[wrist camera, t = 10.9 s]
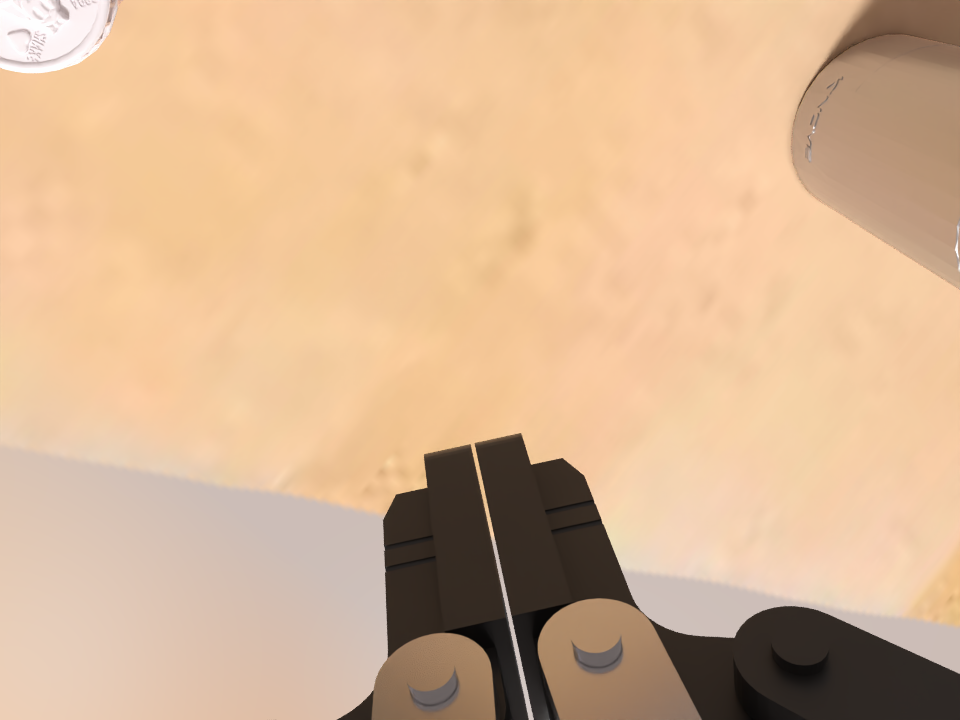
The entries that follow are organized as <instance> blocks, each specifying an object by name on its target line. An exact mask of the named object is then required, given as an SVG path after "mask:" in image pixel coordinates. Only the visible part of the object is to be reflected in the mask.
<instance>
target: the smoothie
mask: <svg viewBox="0 0 960 720" xmlns="http://www.w3.org/2000/svg"><path fill="white" fill-rule="evenodd" d="M122 1H123V0H0V68H3V69H6V70H11V71H15V72H22V73H44V72H50V71H55V70H60V69H63V68H66V67H69V66H72V65H75V64H78V63H80V62H81V61H83V60H84V59H85V58H87V57H88V56H89V55H91V54H92V53H94V52H95V51H96V50H97V49H98V48H99V46H100V45H101V44H102V42H103V41H104V40H105V38H106V37H107V36H108V34H109V33H110V31H111V28H112V25H113V22H114V19H115V16H116V13H117V10H118V6H119V5H120V4H121V2H122Z"/></svg>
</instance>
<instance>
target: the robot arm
mask: <svg viewBox="0 0 960 720" xmlns="http://www.w3.org/2000/svg"><path fill="white" fill-rule="evenodd" d="M791 150H792V157H793V164H794V167H795V169H796V172H797V175H798V177H799V180H800V181H801V182H802V184H803V185H804V186H805V188H806V189H807V191H808V192H809V193H810V194H812V195H813V196H814V197H815V198H817V199H818V200H819V201H820V202H822V203H824V204H825V205H827V206H828V207H830V208H831V209H833V210H835V211H836V212H838V213H839V214H841V215H842V216H844V217H846V218H847V219H849V220H850V221H852V222H853V223H855V224H856V225H858V226H859V227H861V228H862V229H864V230H866V231H867V232H869V233H870V234H872V235H874V236H875V237H877V238H878V239H880V240H881V241H883V242H885V243H886V244H888V245H889V246H891V247H893V248H894V249H896V250H897V251H899V252H901V253H902V254H904V255H905V256H907V257H908V258H910V259H912V260H913V261H915V262H916V263H918V264H920V265H921V266H923V267H924V268H926V269H928V270H929V271H931V272H932V273H934V274H936V275H937V276H939V277H940V278H942V279H943V280H945V281H947V282H948V283H950V284H951V285H953V286H955V287H956V288H958V289H959V290H960V46H956V45H951V44H947V43H942V42H938V41H933V40H928V39H924V38H919V37H915V36H910V35H906V34H887V35H883V36H878V37H874V38H870V39H867V40H865V41H863V42H861V43H859V44H856V45H854V46H852V47H850V48H849V49H847V50H846V51H844V52H843V53H842V54H840V55H839V56H837V57H836V58H835V59H833V60H832V61H831V62H830V63H829V64H828V65H827V66H826V67H825V68H824V69H823V70H822V71H821V72H820V73H819V74H818V76H817V77H816V79H815V80H814V81H813V83H812V84H811V86H810V87H809V89H808V90H807V91H806V93H805V96H804V98H803V100H802V102H801V104H800V106H799V108H798V110H797V114H796V118H795V121H794V125H793V129H792V142H791ZM475 447H476V452H477V456H478V461H479V466H480V470H481V475H482V480H483V485H484V489H485V494H486V499H487V503H488V508H489V513H490V517H491V522H492V527H493V531H494V536H495V541H496V545H497V550H498V554H499V559H500V564H501V568H502V573H503V578H504V583H505V587H506V592H507V596H508V601H509V606H510V611H511V615H512V620H513V625H514V629H515V634H516V639H517V643H518V647H519V652H520V657H521V662H522V667H523V671H524V676H525V680H526V685H527V690H528V694H529V699H530V704H531V708H532V712H533V717H534V720H960V674H958V673H956V672H954V671H952V670H950V669H947V668H945V667H943V666H941V665H939V664H936V663H934V662H932V661H930V660H928V659H925V658H923V657H921V656H919V655H916V654H914V653H912V652H910V651H908V650H905V649H903V648H901V647H899V646H897V645H894V644H892V643H890V642H888V641H886V640H883V639H881V638H879V637H877V636H874V635H872V634H870V633H868V632H866V631H864V630H861V629H859V628H857V627H855V626H853V625H850V624H848V623H846V622H844V621H842V620H839V619H837V618H835V617H833V616H830V615H828V614H825V613H823V612H820V611H818V610H814V609H809V608H804V607H796V606H784V607H776V608H771V609H767V610H765V611H762V612H760V613H757V614H755V615H754V616H752V617H751V618H749V619H748V620H747V621H746V622H745V623H744V624H743V625H742V626H741V627H740V629H739V630H738V632H737V633H736V636H735V638H723V637H705V636H693V635H686V634H682V633H678V632H674V631H672V630H669V629H666V628H664V627H662V626H660V625H658V624H656V623H655V622H654V621H652V620H651V619H649V618H648V617H647V616H646V615H645V614H644V613H643V612H642V611H640V609H639V608H638V606H637V605H636V604H635V602H634V600H633V598H632V596H631V593H630V591H629V588H628V586H627V583H626V581H625V578H624V575H623V573H622V570H621V568H620V565H619V563H618V560H617V558H616V555H615V553H614V550H613V548H612V545H611V542H610V540H609V537H608V535H607V532H606V530H605V527H604V525H603V524H602V521H601V517H600V515H599V512H598V510H597V507H596V505H595V504H594V499H593V497H592V494H591V492H590V489H589V487H588V484H587V482H586V479H585V477H584V475H583V474H581V473H580V472H579V471H578V470H576V469H575V468H574V467H573V466H571V465H570V464H569V463H568V462H567V461H565V460H564V459H563V458H561V459H556V460H551V461H547V462H542V463H538V464H533V465H531V464H530V460H529V457H528V454H527V451H526V447H525V444H524V441H523V438H522V435H521V433H519V434H515V435H510V436H505V437H501V438H496V439H492V440H487V441H482V442H478V443H475ZM424 461H425V470H426V478H427V487H428V488H424V489H420V490H415V491H411V492H406V493H401V494H397V495H396V496H395V498H394V500H393V502H392V504H391V506H390V508H389V510H388V512H387V514H386V516H385V518H384V520H383V527H384V547H385V551H384V552H385V553H384V554H385V569H386V572H385V581H386V609H387V635H388V659H387V661H386V662H385V663H384V664H383V666H382V667H381V669H380V671H379V673H378V675H377V678H376V681H375V686H374V690H373V691H372V693H371V694H370V695H369V696H368V697H367V699H365V700H364V701H363V702H362V703H361V704H360V705H359V706H357V707H356V708H355V709H354V710H352V711H351V712H349V713H348V714H346V715H344V716H343V717H341V718H339V719H337V720H529V718H528V713H527V709H526V704H525V699H524V694H523V689H522V685H521V680H520V675H519V670H518V665H517V660H516V656H515V651H514V647H513V641H512V636H511V632H510V627H509V622H508V617H507V613H506V607H505V603H504V598H503V593H502V588H501V584H500V579H499V574H498V569H497V564H496V560H495V555H494V550H493V545H492V540H491V536H490V531H489V527H488V522H487V517H486V513H485V508H484V504H483V499H482V494H481V490H480V485H479V481H478V476H477V472H476V467H475V462H474V458H473V453H472V449H471V444H470V445H465V446H460V447H456V448H451V449H447V450H442V451H437V452H433V453H428V454H424Z"/></svg>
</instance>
